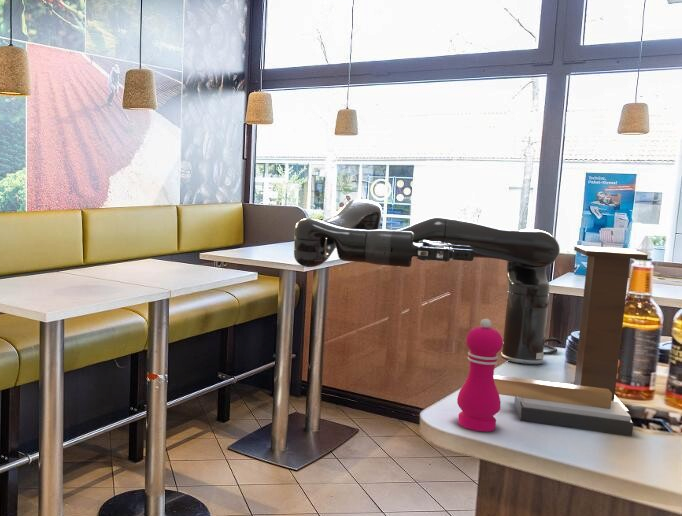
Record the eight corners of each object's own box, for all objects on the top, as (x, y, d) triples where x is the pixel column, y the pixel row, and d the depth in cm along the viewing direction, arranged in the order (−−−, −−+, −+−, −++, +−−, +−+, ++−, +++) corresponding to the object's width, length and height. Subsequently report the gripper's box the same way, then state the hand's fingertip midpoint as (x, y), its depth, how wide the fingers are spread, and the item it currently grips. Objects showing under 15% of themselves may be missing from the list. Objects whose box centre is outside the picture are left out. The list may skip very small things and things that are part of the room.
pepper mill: (461, 415, 133) (471, 313, 131) (502, 425, 128) (513, 319, 126) (450, 425, 127) (459, 318, 125) (492, 436, 123) (503, 325, 121)
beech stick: (479, 387, 140) (480, 373, 139) (606, 404, 132) (608, 388, 132) (480, 392, 137) (481, 377, 137) (610, 409, 129) (612, 393, 129)
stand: (558, 393, 149) (574, 245, 146) (613, 400, 146) (630, 248, 142) (569, 410, 138) (586, 250, 135) (628, 418, 135) (647, 254, 131)
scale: (514, 404, 141) (515, 387, 140) (617, 418, 135) (619, 401, 134) (520, 420, 132) (522, 402, 131) (632, 436, 125) (634, 417, 125)
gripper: (389, 261, 155) (468, 267, 149) (385, 269, 141) (472, 276, 136) (391, 228, 154) (471, 232, 148) (388, 232, 141) (476, 237, 135)
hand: (472, 253), depth 142 cm, fingers open, 8 cm apart
